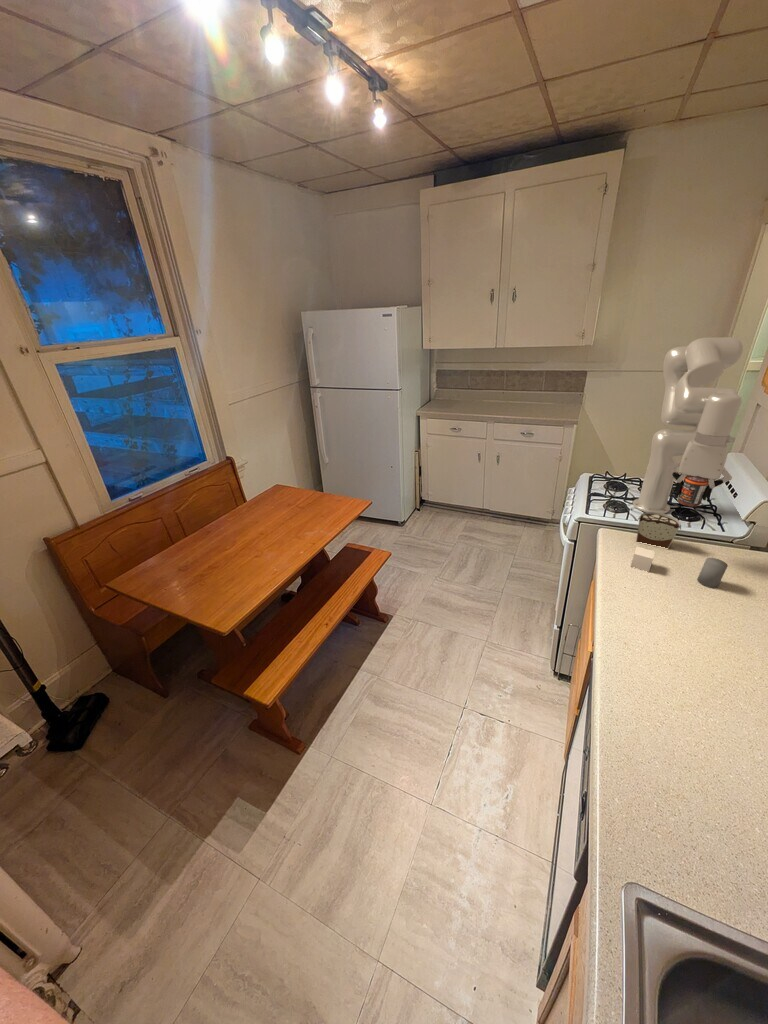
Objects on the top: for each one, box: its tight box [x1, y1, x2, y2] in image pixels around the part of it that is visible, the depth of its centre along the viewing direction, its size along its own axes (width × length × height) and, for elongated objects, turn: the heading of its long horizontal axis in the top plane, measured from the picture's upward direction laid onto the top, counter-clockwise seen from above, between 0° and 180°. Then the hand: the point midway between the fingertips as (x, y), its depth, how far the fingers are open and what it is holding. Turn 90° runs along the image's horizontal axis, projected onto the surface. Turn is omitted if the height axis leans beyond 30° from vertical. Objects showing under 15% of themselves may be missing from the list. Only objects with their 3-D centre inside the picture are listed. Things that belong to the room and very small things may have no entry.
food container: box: [635, 512, 682, 550], centre depth 137 cm, size 12×6×10 cm, turn 58°
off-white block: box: [630, 546, 656, 573], centre depth 126 cm, size 5×5×5 cm
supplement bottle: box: [676, 475, 709, 508], centre depth 121 cm, size 6×6×11 cm
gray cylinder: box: [697, 557, 728, 589], centre depth 117 cm, size 5×5×7 cm
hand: (690, 495), depth 123 cm, fingers closed on supplement bottle, 6 cm apart
